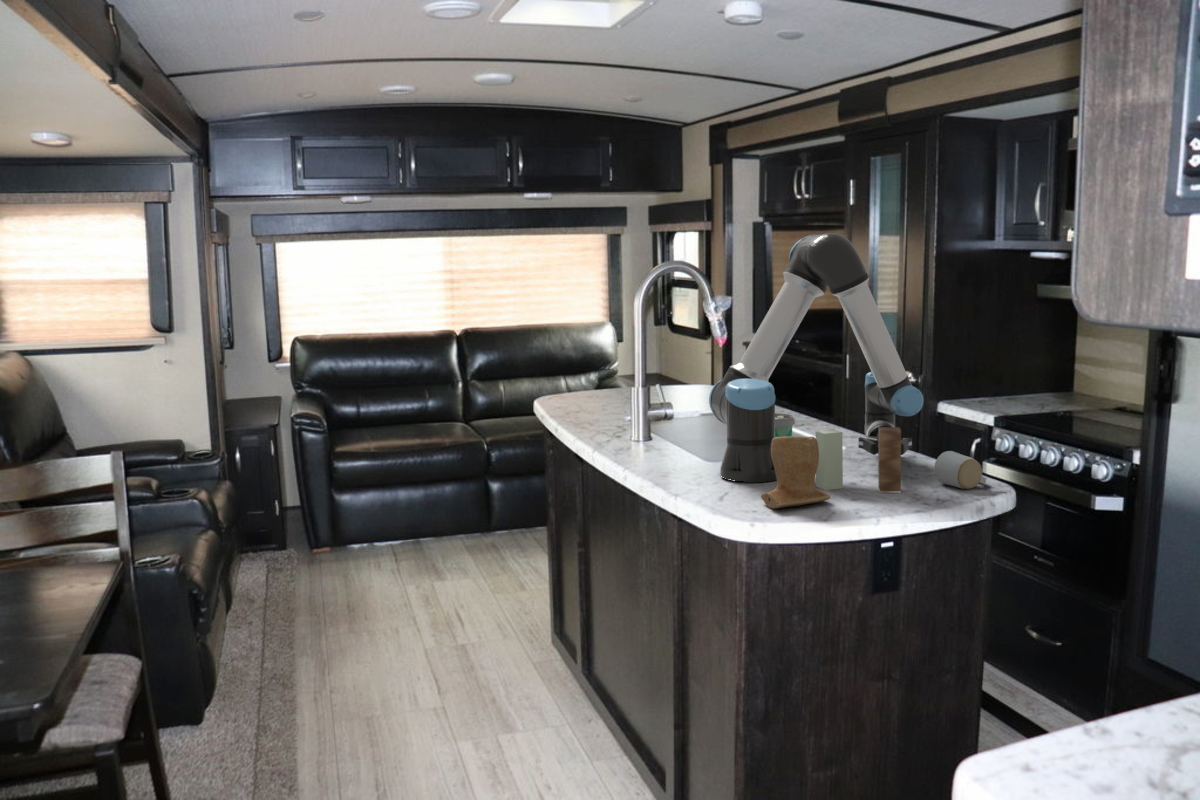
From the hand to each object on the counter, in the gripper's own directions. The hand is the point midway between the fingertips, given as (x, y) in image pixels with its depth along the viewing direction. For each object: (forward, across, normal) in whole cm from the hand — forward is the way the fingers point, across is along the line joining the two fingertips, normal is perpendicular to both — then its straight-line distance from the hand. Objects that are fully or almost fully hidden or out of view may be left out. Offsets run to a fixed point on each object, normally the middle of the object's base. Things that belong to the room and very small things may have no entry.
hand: (890, 455), depth 224 cm
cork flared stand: (+20, +22, -7) cm, 30 cm away
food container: (-41, +25, -7) cm, 48 cm away
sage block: (+3, +14, -7) cm, 16 cm away
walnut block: (+6, +1, -7) cm, 9 cm away
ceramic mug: (0, -16, -7) cm, 17 cm away
